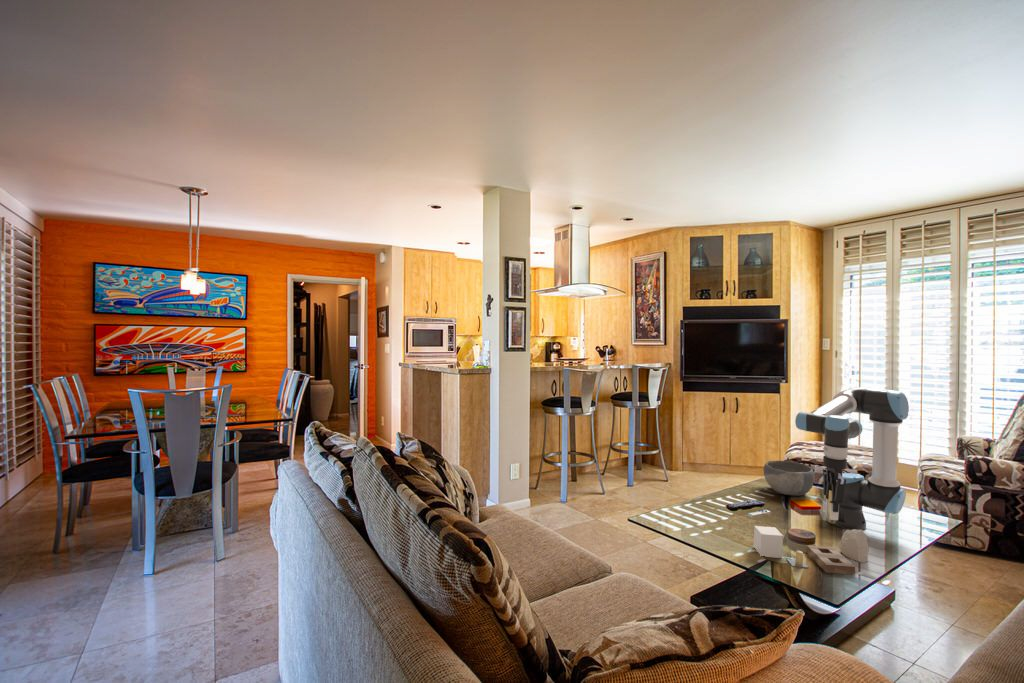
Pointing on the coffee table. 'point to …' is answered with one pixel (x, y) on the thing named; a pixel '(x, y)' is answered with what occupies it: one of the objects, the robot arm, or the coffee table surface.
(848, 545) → the stone
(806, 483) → the bowl
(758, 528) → the cube
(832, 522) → the pin
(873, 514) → the coffee table surface
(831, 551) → the socket board
